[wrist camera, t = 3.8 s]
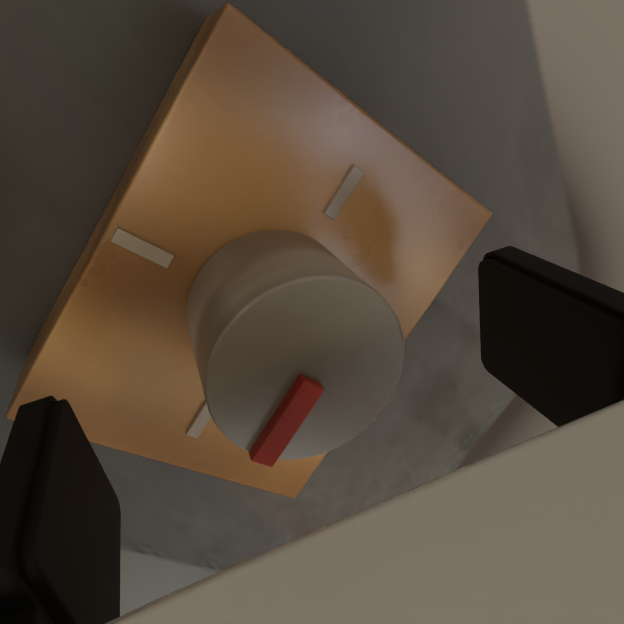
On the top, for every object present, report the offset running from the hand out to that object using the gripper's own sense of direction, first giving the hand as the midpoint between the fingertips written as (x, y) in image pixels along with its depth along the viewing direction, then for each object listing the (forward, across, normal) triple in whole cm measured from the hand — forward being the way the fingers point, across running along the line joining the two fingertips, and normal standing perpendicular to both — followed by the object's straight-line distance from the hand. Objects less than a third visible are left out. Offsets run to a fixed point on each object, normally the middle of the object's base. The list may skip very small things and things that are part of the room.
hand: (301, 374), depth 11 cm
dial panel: (+6, 0, 0) cm, 6 cm away
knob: (+3, 0, 0) cm, 3 cm away
